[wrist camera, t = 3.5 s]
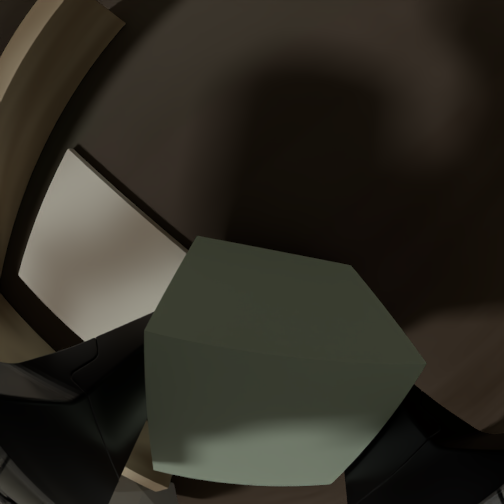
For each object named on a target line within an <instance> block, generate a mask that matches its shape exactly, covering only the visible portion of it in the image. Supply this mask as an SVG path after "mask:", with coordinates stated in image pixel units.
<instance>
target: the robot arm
mask: <svg viewBox="0 0 504 504" xmlns="http://www.w3.org/2000/svg"><path fill="white" fill-rule="evenodd" d="M153 313H154V312H152V313H150V314H147V315H145V316H143V317H140V318H138V319H136V320H134V321H131V322H129V323H127V324H124V325H122V326H120V327H118V328H115V329H113V330H111V331H108V332H106V333H104V334H101V335H99V336H97V337H96V338H92V339H90V340H87V341H85V342H82V343H80V344H77V345H75V346H72V347H69V348H66V349H63V350H60V351H57V352H54V353H51V354H48V355H44V356H41V357H38V358H34V359H31V360H27V361H24V362H20V363H4V362H0V504H109V502H110V500H111V497H112V495H113V493H114V491H115V488H116V486H117V484H118V482H119V479H120V477H121V475H122V472H123V470H124V468H125V466H126V463H127V461H128V459H129V457H130V455H131V452H132V450H133V448H134V446H135V444H136V442H137V439H138V437H139V435H140V433H141V431H142V429H143V426H144V424H145V422H146V420H147V405H146V389H145V365H144V330H145V328H146V326H147V324H148V322H149V320H150V318H151V317H152V315H153ZM344 473H345V482H346V492H347V504H504V433H503V434H488V433H484V432H481V431H479V430H477V429H475V428H474V427H472V426H471V425H469V424H468V423H466V422H465V421H463V420H462V419H460V418H459V417H457V416H456V415H454V414H453V413H451V412H450V411H448V410H447V409H446V408H444V407H443V406H441V405H440V404H439V403H437V402H436V401H435V400H433V399H432V398H431V397H429V396H428V395H427V394H426V393H424V392H423V391H422V392H421V389H419V388H418V387H417V386H416V385H413V386H412V388H411V389H410V391H409V392H408V394H407V395H406V396H405V398H404V399H403V401H402V402H401V404H400V405H399V406H398V408H397V409H396V410H395V412H394V413H393V414H392V416H391V417H390V418H389V420H388V421H387V422H386V424H385V425H384V426H383V427H382V429H381V430H380V431H379V432H378V434H377V435H376V436H375V437H374V438H373V440H372V441H371V442H370V443H369V444H368V446H367V447H366V448H365V449H364V450H363V451H362V452H361V453H360V455H359V456H358V457H357V458H356V459H355V460H354V461H353V462H352V463H351V464H350V465H349V466H348V467H347V468H346V469H345V471H344Z"/></svg>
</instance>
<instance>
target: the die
mask: <svg viewBox="0 0 504 504" xmlns="http://www.w3.org/2000/svg"><path fill="white" fill-rule="evenodd" d="M109 504H178V500H177V496H176V491H175V486H174V483H172V482H170V484H169V488H168V489H164V490H161V491H157V492H155V491H153V490H151V489H149V488H147V487H145V486H143V485H141V484H139V483H137V482H135V481H133V480H131V479H129V478H127V477H125V476H123V475H121V477H120V479H119V482H118V484H117V486H116V488H115V491H114V493H113V495H112V497H111V500H110V502H109Z"/></svg>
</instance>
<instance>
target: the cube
mask: <svg viewBox="0 0 504 504" xmlns="http://www.w3.org/2000/svg"><path fill="white" fill-rule="evenodd" d="M426 364H427V363H426V362H425V361H424V359H423V358H422V356H421V355H420V354H419V352H418V351H417V349H416V348H415V347H414V345H413V344H412V343H411V341H410V340H409V338H408V337H407V336H406V334H405V333H404V332H403V330H402V329H401V328H400V326H399V325H398V324H397V322H396V321H395V320H394V319H393V317H392V316H391V315H390V313H389V312H388V311H387V309H386V308H385V307H384V306H383V304H382V303H381V302H380V300H379V299H378V298H377V297H376V295H375V294H374V293H373V292H372V290H371V289H370V288H369V287H368V285H367V284H366V283H365V282H364V281H363V279H362V278H361V277H360V276H359V274H358V273H357V272H356V271H355V270H354V268H353V267H352V266H351V265H347V264H342V263H337V262H332V261H326V260H321V259H316V258H311V257H306V256H301V255H296V254H290V253H285V252H280V251H275V250H270V249H264V248H259V247H254V246H249V245H244V244H238V243H233V242H228V241H223V240H217V239H212V238H207V237H201V236H197V237H196V238H195V240H194V242H193V244H192V245H191V247H190V249H189V250H188V252H187V254H186V256H185V257H184V259H183V261H182V262H181V264H180V266H179V268H178V269H177V271H176V273H175V275H174V276H173V278H172V280H171V282H170V284H169V285H168V287H167V289H166V291H165V293H164V294H163V296H162V298H161V300H160V302H159V304H158V305H157V307H156V309H155V311H154V313H153V315H152V317H151V318H150V320H149V322H148V324H147V326H146V328H145V330H144V365H145V389H146V405H147V418H148V429H149V438H150V447H151V455H152V463H153V470H155V471H159V472H164V473H168V474H173V475H178V476H183V477H188V478H194V479H200V480H207V481H214V482H222V483H231V484H243V485H259V486H309V485H325V484H331V483H332V482H333V481H334V480H336V479H337V478H338V477H339V476H340V475H341V474H342V473H343V472H344V471H345V469H346V468H347V467H348V466H349V465H350V464H351V463H352V462H353V461H354V460H355V459H356V458H357V457H358V456H359V455H360V453H361V452H362V451H363V450H364V449H365V448H366V447H367V446H368V444H369V443H370V442H371V441H372V440H373V438H374V437H375V436H376V435H377V434H378V432H379V431H380V430H381V429H382V427H383V426H384V425H385V424H386V422H387V421H388V420H389V418H390V417H391V416H392V414H393V413H394V412H395V410H396V409H397V408H398V406H399V405H400V404H401V402H402V401H403V399H404V398H405V396H406V395H407V394H408V392H409V391H410V389H411V388H412V386H413V385H414V383H415V382H416V380H417V378H418V377H419V375H420V374H421V372H422V371H423V369H424V367H425V366H426Z"/></svg>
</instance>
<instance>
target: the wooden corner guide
mask: <svg viewBox="0 0 504 504" xmlns="http://www.w3.org/2000/svg"><path fill="white" fill-rule="evenodd" d="M125 24H126V23H125V22H124V21H122V20H121V19H120V18H118V17H117V16H116V15H115V14H113V13H112V12H111V11H109V10H108V9H107V8H105V7H104V6H103V5H101V4H100V3H99V2H97V1H96V0H37V2H36V3H35V4H34V6H33V7H32V8H31V10H30V11H29V12H28V14H27V15H26V17H25V18H24V20H23V21H22V22H21V24H20V25H19V27H18V28H17V30H16V32H15V33H14V35H13V36H12V38H11V40H10V41H9V43H8V45H7V46H6V48H5V50H4V52H3V53H2V55H1V57H0V278H1V273H2V268H3V263H4V259H5V255H6V250H7V246H8V243H9V239H10V235H11V232H12V228H13V225H14V222H15V218H16V215H17V212H18V209H19V206H20V203H21V200H22V198H23V195H24V192H25V190H26V187H27V184H28V182H29V179H30V177H31V174H32V172H33V170H34V167H35V165H36V163H37V160H38V158H39V156H40V154H41V152H42V150H43V147H44V145H45V143H46V141H47V139H48V137H49V135H50V133H51V131H52V129H53V128H54V126H55V124H56V122H57V120H58V118H59V117H60V115H61V113H62V111H63V110H64V108H65V106H66V104H67V103H68V101H69V99H70V98H71V96H72V95H73V93H74V91H75V90H76V88H77V87H78V85H79V84H80V82H81V81H82V79H83V78H84V76H85V75H86V73H87V72H88V70H89V69H90V68H91V66H92V65H93V64H94V62H95V61H96V59H97V58H98V57H99V55H100V54H101V53H102V52H103V50H104V49H105V48H106V46H107V45H108V44H109V43H110V41H111V40H112V39H113V38H114V37H115V35H116V34H117V33H118V32H119V31H120V30H121V28H122V27H123V26H124V25H125ZM187 252H188V250H187V249H186V248H185V247H184V246H183V245H181V244H180V243H179V242H178V241H177V240H175V239H174V238H173V237H172V236H171V235H169V234H168V233H167V232H166V231H165V230H164V229H162V228H161V227H160V226H159V225H158V224H157V223H155V222H154V221H153V220H152V219H151V218H150V217H148V216H147V215H146V214H145V213H144V212H143V211H141V210H140V209H139V208H138V207H137V206H136V205H135V204H133V203H132V202H131V201H130V200H129V199H128V198H127V197H125V196H124V195H123V194H122V193H121V192H120V191H119V190H118V189H116V188H115V187H114V186H113V185H112V184H111V183H110V182H109V181H108V180H106V179H105V178H104V177H103V176H102V175H101V174H100V173H99V172H98V171H97V170H95V169H94V168H93V167H92V166H91V165H90V164H89V163H88V162H87V161H86V160H85V159H83V158H82V157H81V156H80V155H79V154H78V153H77V152H76V151H75V150H74V149H73V148H71V149H68V150H67V152H66V153H65V155H64V157H63V159H62V161H61V163H60V165H59V167H58V169H57V171H56V173H55V176H54V178H53V180H52V182H51V184H50V186H49V189H48V191H47V193H46V196H45V198H44V200H43V203H42V205H41V208H40V210H39V213H38V215H37V218H36V221H35V223H34V226H33V229H32V232H31V234H30V237H29V240H28V243H27V247H26V250H25V253H24V256H23V260H22V263H21V267H20V270H19V274H18V275H19V277H20V278H21V279H22V280H23V281H24V282H25V283H26V284H27V286H28V287H29V288H30V289H31V290H32V291H33V292H34V293H35V294H36V295H37V296H38V297H39V299H40V300H41V301H42V302H43V303H44V304H45V305H46V306H47V307H48V308H49V309H50V310H51V311H52V312H53V313H54V314H55V315H56V316H57V317H58V318H59V319H60V320H62V321H63V322H64V323H65V324H66V325H67V326H68V327H69V328H70V329H71V330H72V331H73V332H75V333H76V334H77V335H78V336H79V337H80V338H81V339H82V340H84V341H87V340H90V339H92V338H96V337H97V336H99V335H101V334H104V333H106V332H108V331H111V330H113V329H115V328H118V327H120V326H122V325H124V324H127V323H129V322H131V321H134V320H136V319H138V318H140V317H143V316H145V315H147V314H150V313H152V312H154V311H155V309H156V307H157V305H158V304H159V302H160V300H161V298H162V296H163V294H164V293H165V291H166V289H167V287H168V285H169V284H170V282H171V280H172V278H173V276H174V275H175V273H176V271H177V269H178V268H179V266H180V264H181V262H182V261H183V259H184V257H185V256H186V254H187ZM54 352H56V351H54V350H53V349H52V348H51V347H50V346H49V345H48V344H47V343H46V342H45V341H44V340H43V339H42V338H41V337H40V336H39V335H38V334H37V333H36V332H35V331H34V330H33V329H32V328H31V327H30V326H29V325H28V324H27V323H26V322H25V321H24V320H23V319H22V317H21V316H20V315H19V314H18V313H17V312H16V311H15V310H14V309H13V307H12V306H11V305H10V304H9V303H8V302H7V300H6V299H5V298H4V297H3V296H2V294H1V293H0V362H4V363H20V362H24V361H27V360H31V359H34V358H38V357H41V356H44V355H48V354H51V353H54ZM122 475H123V476H125V477H127V478H129V479H131V480H133V481H135V482H137V483H139V484H141V485H143V486H145V487H147V488H149V489H151V490H153V491H155V492H157V491H161V490H164V489H168V488H169V484H170V481H171V477H172V474H168V473H164V472H159V471H155V470H153V463H152V455H151V447H150V438H149V429H148V421H147V420H146V422H145V424H144V426H143V429H142V431H141V433H140V435H139V437H138V439H137V442H136V444H135V446H134V448H133V450H132V452H131V455H130V457H129V459H128V461H127V463H126V466H125V468H124V470H123V472H122Z"/></svg>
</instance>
